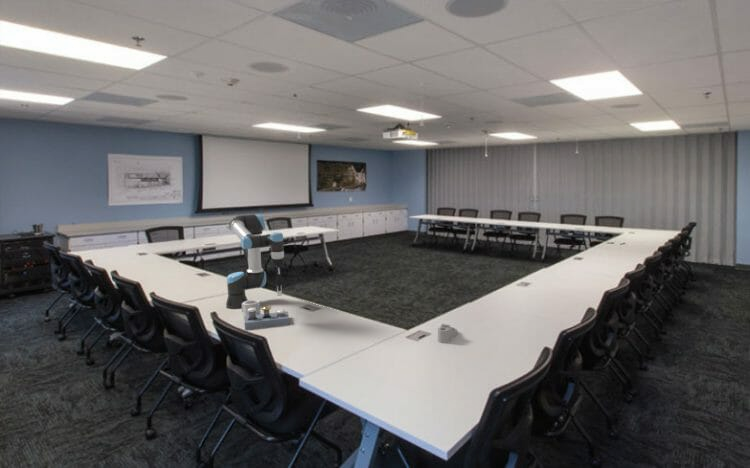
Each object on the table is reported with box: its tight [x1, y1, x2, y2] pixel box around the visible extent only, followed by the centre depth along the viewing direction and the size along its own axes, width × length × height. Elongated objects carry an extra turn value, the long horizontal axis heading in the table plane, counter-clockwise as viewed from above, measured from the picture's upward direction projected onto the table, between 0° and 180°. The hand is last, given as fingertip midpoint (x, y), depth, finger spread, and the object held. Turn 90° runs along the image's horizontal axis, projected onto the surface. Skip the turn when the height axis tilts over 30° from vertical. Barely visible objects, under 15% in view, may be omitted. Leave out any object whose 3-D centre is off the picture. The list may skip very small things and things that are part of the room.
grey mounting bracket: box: [437, 323, 459, 344], centre depth 224 cm, size 6×18×8 cm, turn 148°
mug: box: [241, 299, 261, 319], centre depth 269 cm, size 14×11×10 cm
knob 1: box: [248, 308, 256, 320], centre depth 252 cm, size 5×5×6 cm
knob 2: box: [276, 309, 286, 317], centre depth 257 cm, size 5×5×6 cm
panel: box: [244, 311, 291, 331], centre depth 255 cm, size 14×26×4 cm, turn 106°
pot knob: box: [261, 305, 271, 318], centre depth 254 cm, size 5×5×6 cm
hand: (279, 295), depth 256 cm, fingers closed
